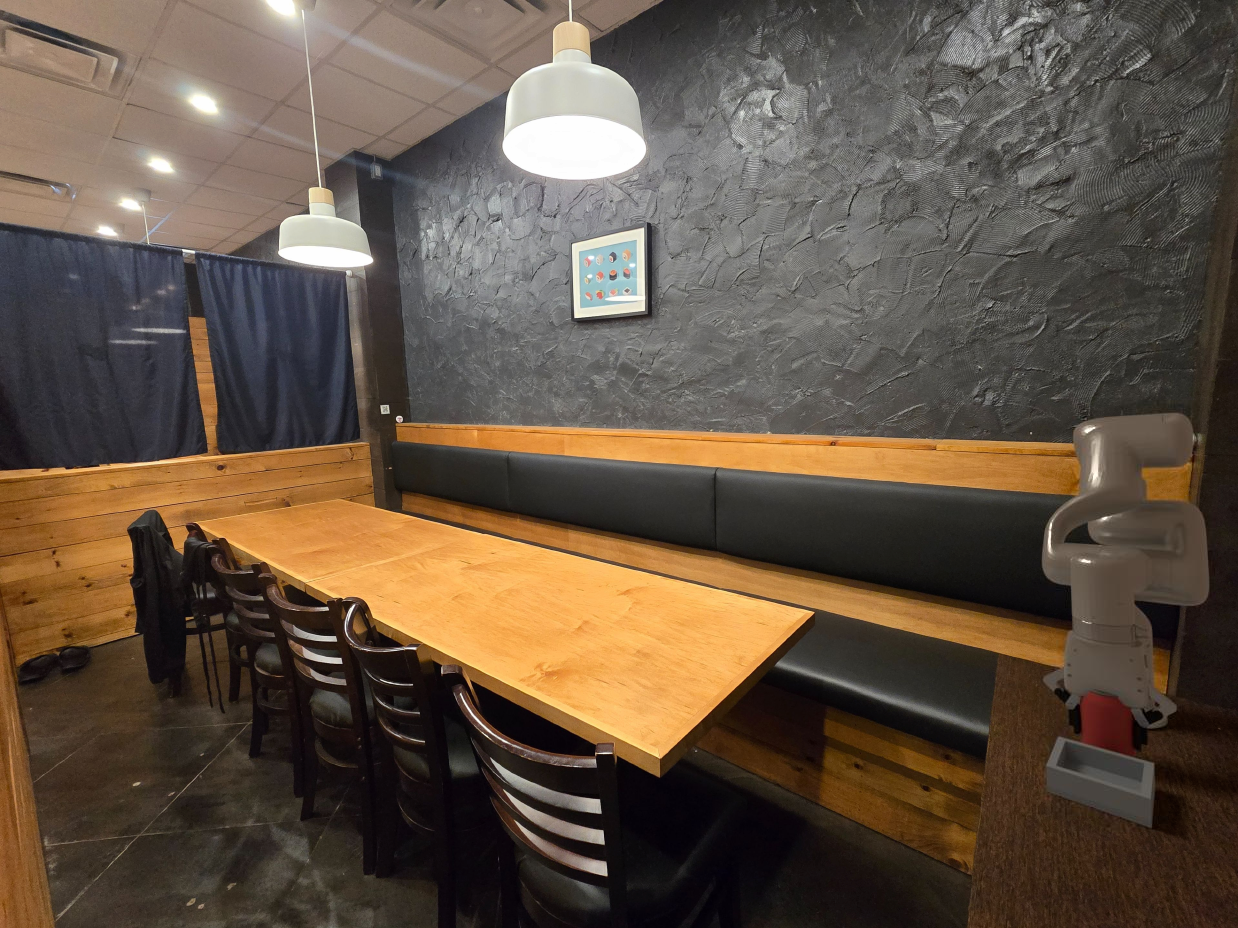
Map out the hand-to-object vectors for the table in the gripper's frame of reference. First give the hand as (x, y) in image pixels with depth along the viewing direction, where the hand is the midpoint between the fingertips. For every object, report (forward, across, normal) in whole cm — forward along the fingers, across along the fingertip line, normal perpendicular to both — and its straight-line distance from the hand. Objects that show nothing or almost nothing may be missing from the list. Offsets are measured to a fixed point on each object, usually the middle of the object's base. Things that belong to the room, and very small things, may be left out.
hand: (1107, 737), depth 85 cm
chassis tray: (+4, 0, +10) cm, 11 cm away
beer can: (+4, 0, 0) cm, 4 cm away
